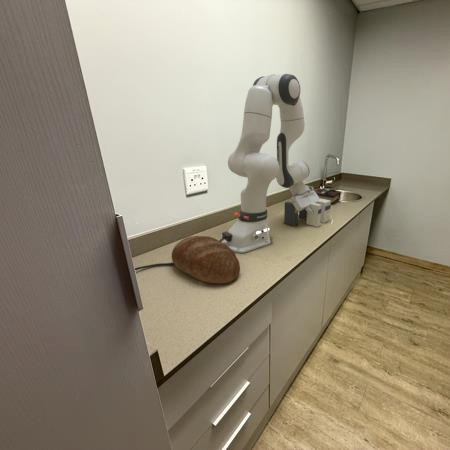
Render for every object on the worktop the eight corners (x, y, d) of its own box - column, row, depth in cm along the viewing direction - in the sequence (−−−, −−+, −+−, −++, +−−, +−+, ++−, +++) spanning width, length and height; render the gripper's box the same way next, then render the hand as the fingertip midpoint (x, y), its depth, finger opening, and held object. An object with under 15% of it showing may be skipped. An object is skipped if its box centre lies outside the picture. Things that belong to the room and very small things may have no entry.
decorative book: (309, 185, 197) (344, 190, 185) (308, 194, 200) (343, 200, 188) (298, 189, 181) (336, 195, 169) (297, 199, 184) (335, 205, 172)
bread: (199, 249, 100) (196, 223, 96) (251, 272, 86) (250, 243, 82) (161, 264, 88) (156, 236, 84) (215, 294, 73) (211, 261, 69)
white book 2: (324, 223, 137) (326, 202, 133) (313, 220, 141) (314, 200, 136) (326, 221, 139) (328, 201, 135) (316, 219, 143) (317, 199, 139)
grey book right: (309, 219, 142) (310, 199, 138) (298, 217, 145) (299, 197, 141) (311, 217, 145) (312, 198, 140) (301, 215, 148) (302, 196, 143)
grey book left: (294, 226, 130) (295, 204, 126) (284, 223, 134) (284, 202, 130) (297, 224, 133) (298, 203, 129) (287, 221, 136) (288, 201, 132)
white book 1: (317, 227, 131) (319, 205, 127) (306, 224, 134) (307, 203, 130) (320, 225, 133) (321, 204, 129) (309, 222, 137) (310, 202, 133)
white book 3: (326, 221, 140) (328, 201, 135) (316, 219, 143) (317, 199, 139) (329, 220, 142) (331, 200, 138) (318, 217, 146) (320, 198, 141)
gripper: (293, 192, 123) (308, 214, 121) (313, 186, 139) (327, 206, 137) (285, 199, 126) (300, 221, 125) (306, 192, 142) (320, 211, 141)
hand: (314, 213), depth 131 cm, fingers closed on white book 1, 3 cm apart
